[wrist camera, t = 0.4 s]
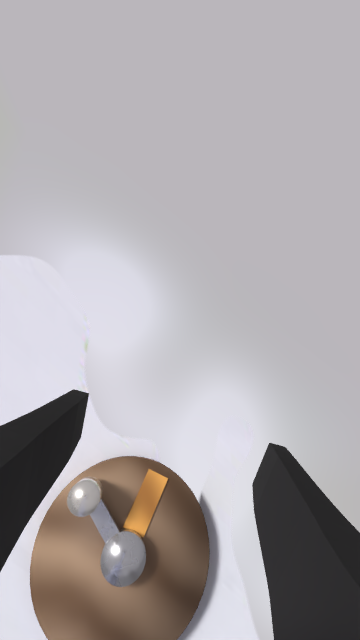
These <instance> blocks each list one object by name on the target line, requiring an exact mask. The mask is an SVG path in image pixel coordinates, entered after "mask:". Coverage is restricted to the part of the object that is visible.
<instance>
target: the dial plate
mask: <svg viewBox="0 0 360 640" xmlns="http://www.w3.org/2000/svg"><path fill="white" fill-rule="evenodd" d="M85 477H95V478H97V479H98V480H99V481H100V482H101V484H102V487H103V494H102V499H103V500H104V502H105V504H106V506H107V508H108V509H109V511H110V513H111V515H112V517H113V518H114V520H115V522H116V524H117V526H118V527H119V529H132V530H134V531H136V532H137V533H138V534H139V535H140V536H141V537H142V539H143V541H144V544H145V550H146V562H145V566H144V569H143V571H142V573H141V575H140V576H139V578H138V579H137V580H136V581H135V582H133V583H132V584H130V585H128V586H125V587H116V586H113V585H111V584H110V583H109V582H107V580H106V579H105V578H104V576H103V574H102V571H101V565H100V561H101V554H102V551H103V547H104V545H105V542H104V540H103V538H102V536H101V535H100V533H99V531H98V529H97V527H96V525H95V523H94V522H93V520H92V518H91V516H90V515H88V516H84V517H78V516H75V515H73V514H72V513H71V512H70V510H69V508H68V505H67V497H68V494H69V491H70V490H71V488H72V487H73V486H74V485H75V484H76V483H77V482H79V481H80V480H81V479H83V478H85ZM208 567H209V538H208V532H207V526H206V522H205V519H204V515H203V512H202V510H201V507H200V505H199V503H198V501H197V499H196V497H195V495H194V494H193V492H192V491H191V489H190V488H189V487H188V486H187V484H186V483H185V482H184V481H183V480H182V479H181V478H180V477H179V476H178V475H177V474H176V473H175V472H173V471H172V470H171V469H170V468H168V467H166V466H165V465H163V464H161V463H159V462H157V461H154V460H152V459H148V458H144V457H136V456H122V457H117V458H112V459H109V460H105V461H102V462H100V463H98V464H96V465H94V466H92V467H90V468H89V469H87V470H86V471H84V472H82V473H81V474H80V475H78V476H77V477H76V478H75V479H74V480H72V481H71V482H70V483H69V484H68V485H67V486H66V487H65V488H64V489H63V490H62V491H61V493H60V494H59V495H58V497H57V498H56V499H55V500H54V502H53V503H52V505H51V507H50V508H49V510H48V511H47V513H46V515H45V517H44V519H43V521H42V523H41V525H40V528H39V531H38V534H37V537H36V539H35V544H34V548H33V552H32V558H31V566H30V588H31V597H32V602H33V606H34V610H35V614H36V616H37V619H38V622H39V624H40V626H41V628H42V630H43V632H44V634H45V635H46V637H47V639H48V640H177V639H178V637H179V636H180V635H181V634H182V633H183V631H184V630H185V628H186V627H187V625H188V624H189V622H190V621H191V619H192V617H193V615H194V613H195V611H196V609H197V608H198V605H199V602H200V600H201V597H202V595H203V591H204V587H205V584H206V580H207V574H208Z"/></svg>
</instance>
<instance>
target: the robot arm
mask: <svg viewBox="0 0 360 640" xmlns="http://www.w3.org/2000/svg"><path fill="white" fill-rule="evenodd" d="M88 396H89V393H85V392H81V391H78V390H72V391H70V392H68V393H66V394H64V395H62V396H60V397H59V398H57V399H55V400H53V401H51V402H49V403H47V404H46V405H44V406H42V407H40V408H38V409H36V410H34V411H32V412H30V413H28V414H26V415H24V416H21V417H19V418H17V419H15V420H13V421H11V422H8V423H6V424H4V425H2V426H0V571H1V570H2V568H3V566H4V564H5V562H6V560H7V558H8V557H9V555H10V553H11V551H12V549H13V548H14V546H15V544H16V542H17V540H18V539H19V537H20V535H21V533H22V531H23V530H24V528H25V526H26V525H27V523H28V521H29V520H30V518H31V517H32V515H33V514H34V512H35V511H36V509H37V508H38V506H39V505H40V503H41V502H42V500H43V499H44V497H45V496H46V494H47V493H48V491H49V490H50V488H51V487H52V485H53V484H54V482H55V481H56V479H57V478H58V476H59V475H60V473H61V472H62V470H63V469H64V467H65V466H66V464H67V463H68V461H69V459H70V457H71V455H72V454H73V452H74V450H75V448H76V446H77V444H78V442H79V440H80V438H81V434H82V429H83V423H84V418H85V412H86V407H87V401H88ZM253 500H254V501H253V502H254V513H255V518H256V524H257V530H258V535H259V540H260V546H261V551H262V556H263V561H264V567H265V572H266V577H267V582H268V589H269V596H270V604H271V614H272V624H273V633H274V640H360V533H359V532H358V531H357V530H356V529H355V527H354V526H353V525H351V523H350V522H349V521H348V520H347V519H346V518H345V517H344V516H343V515H342V514H341V512H340V511H339V510H338V509H337V508H336V507H335V506H334V505H333V504H332V502H331V501H330V500H329V499H328V498H327V497H326V496H325V494H324V493H323V492H322V491H321V490H320V488H319V487H318V486H317V485H316V484H315V482H314V481H313V480H312V479H311V478H310V476H309V475H308V474H307V473H306V471H304V469H303V468H302V467H301V466H300V464H299V463H298V462H297V460H296V459H295V458H294V457H293V456H292V454H291V453H290V452H289V451H288V450H287V449H286V448H285V447H283V446H279V445H276V444H272V443H269V445H268V448H267V450H266V452H265V455H264V457H263V460H262V462H261V464H260V467H259V469H258V472H257V474H256V477H255V479H254V482H253Z"/></svg>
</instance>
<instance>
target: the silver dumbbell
mask: <svg viewBox="0 0 360 640" xmlns="http://www.w3.org/2000/svg"><path fill="white" fill-rule="evenodd" d="M102 494H103V487H102V484H101V482H100V481H99V480H98V479H97V478H95V477H85V478H83V479H81V480H80V481H79V482H77V483H76V484H75V485H74V486H73V487H72V488H71V490H70V491H69V494H68V497H67V505H68V508H69V510H70V512H71V513H72V514H73V515H75V516H78V517H84V516H88V515H90V516H91V518H92V520H93V522H94V523H95V525H96V527H97V529H98V531H99V533H100V535H101V536H102V538H103V540H104V542H105V545H104V547H103V551H102V554H101V561H100V565H101V571H102V574H103V576H104V578H105V579H106V580H107V582H109V583H110V584H111V585H113V586H116V587H125V586H128V585H130V584H132V583H133V582H135V581H136V580H137V579H138V578H139V576H140V575H141V573H142V571H143V569H144V566H145V562H146V550H145V544H144V541H143V539H142V537H141V536H140V535H139V534H138V533H137V532H136V531H134V530H132V529H119V527H118V526H117V524H116V522H115V520H114V518H113V517H112V515H111V513H110V511H109V509H108V508H107V506H106V504H105V502H104V500H103V499H102Z"/></svg>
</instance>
